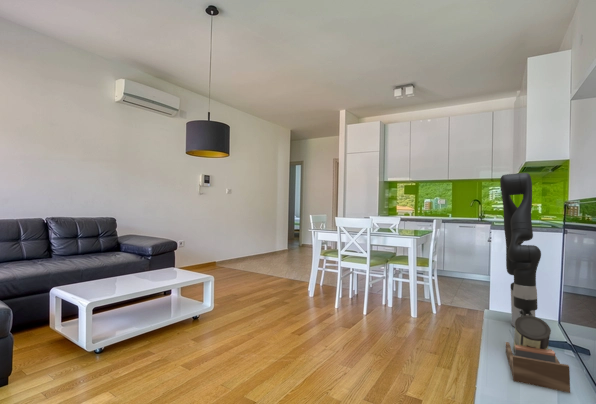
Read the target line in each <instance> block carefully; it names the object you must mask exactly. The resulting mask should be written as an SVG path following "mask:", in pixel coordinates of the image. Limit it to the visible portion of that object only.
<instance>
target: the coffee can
mask: <svg viewBox="0 0 596 404" xmlns="http://www.w3.org/2000/svg"><path fill="white" fill-rule="evenodd" d="M551 331H552V330H551V327H550V325H549V324H548V323H547V322H545V321H544V320H543V319H542V318H540V317H536V316H535V317H534V316H520V317H518V318H517V319H516V320H515V327H514V336H513V337H514V338H513V347H512V348H513V349H512V351H513V353H514V354H515V345H520V346H527V347H532V348H539V349H545V350H548V349H549V342H550V338H551V337H550V336H551V333H552V332H551Z"/></svg>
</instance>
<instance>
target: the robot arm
mask: <svg viewBox="0 0 596 404" xmlns="http://www.w3.org/2000/svg"><path fill="white" fill-rule="evenodd" d="M499 183H500V184H499V186H500V192H501V199H502V208H503V229H504V238H505V260H506V261H505V265H506V266H505V267H506V271H507V272H506V273H507V274H509V276H513V282H511V283H510V307H511V308H510V310H511V311H510V312H511V317H510V318H511V326H512V327H514V328H515V320H516V319H517V318H518V317H520V316H534V317H536V311H537V310H538V309H539V308H538V290H537V270H538V266H539V263H540V261H541V258H542V251H541V249H540V248H539V247H538V246H536V245H535V244H523V243H524V242H527V241H530V240H532V239H534V233H533V232H534V230H533V223H532V210H533V209H532V207H533V181H532V177H531V175H530V174H529V173H528V172H520V173H508V174H502V176H500V182H499ZM517 195H522V199H521V202H520V204H519V205H518V207H517V205H516V204H515V202H514V201H513V199H512V198H511V196H517Z"/></svg>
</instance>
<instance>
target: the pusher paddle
mask: <svg viewBox="0 0 596 404" xmlns="http://www.w3.org/2000/svg"><path fill="white" fill-rule="evenodd" d="M514 356H520V357H526V358H531V359H537V360H543V361H549V362H554V363H555V356H556V352H555V350H553V349H552V350H545V349H539V348H532V347H527V346H520V345H515V353H514Z"/></svg>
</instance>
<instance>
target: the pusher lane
mask: <svg viewBox="0 0 596 404" xmlns="http://www.w3.org/2000/svg"><path fill="white" fill-rule="evenodd" d="M548 350H552V351H553V349H552V348H548ZM513 353H514V352H513V349H512V347H511V344H510V341H505V354H506V357H507V361H508V365H509V368H510V372H511V375H512V380H513V382H516V383H520V384H521V383H522V384H526V385H531V386H535V387H541V388H546V389H550V390H554V391H555V390H556V391H560V392H564V393H565V392H566V393H571V380H570V379H571V373H570V371H571V370H570V365H569V364H565V363H561V362H560V361H559V359H558V357H557V356H556V355H555V363H554V362H549V361H543V360H537V359H531V358H526V357H520V356H515V354H513Z"/></svg>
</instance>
